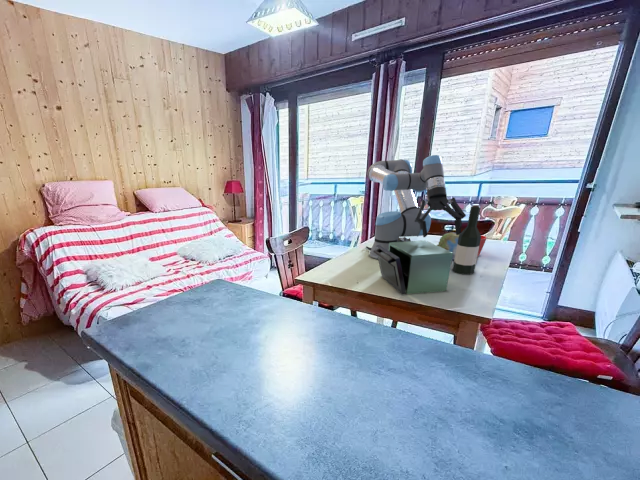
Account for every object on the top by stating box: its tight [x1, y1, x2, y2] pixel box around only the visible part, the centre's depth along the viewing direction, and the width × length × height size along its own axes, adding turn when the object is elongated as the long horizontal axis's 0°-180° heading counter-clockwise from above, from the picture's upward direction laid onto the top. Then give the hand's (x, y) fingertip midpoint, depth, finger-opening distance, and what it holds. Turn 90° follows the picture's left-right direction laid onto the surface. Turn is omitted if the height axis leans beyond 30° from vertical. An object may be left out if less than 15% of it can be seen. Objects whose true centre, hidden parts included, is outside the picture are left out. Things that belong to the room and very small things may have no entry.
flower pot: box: [477, 234, 487, 257], centre depth 169 cm, size 11×11×10 cm
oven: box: [389, 239, 453, 295], centre depth 136 cm, size 16×20×16 cm
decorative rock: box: [436, 232, 459, 260], centre depth 165 cm, size 14×16×15 cm
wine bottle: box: [452, 203, 482, 275], centre depth 143 cm, size 8×8×30 cm
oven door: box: [373, 245, 407, 295], centre depth 136 cm, size 4×20×16 cm, turn 2°
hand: (441, 235), depth 141 cm, fingers open, 13 cm apart
